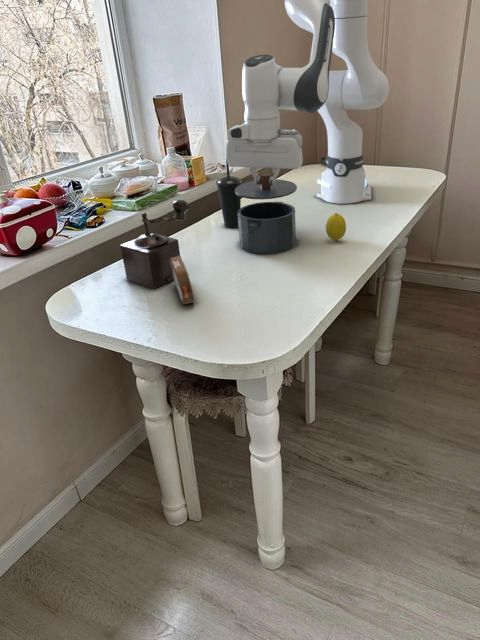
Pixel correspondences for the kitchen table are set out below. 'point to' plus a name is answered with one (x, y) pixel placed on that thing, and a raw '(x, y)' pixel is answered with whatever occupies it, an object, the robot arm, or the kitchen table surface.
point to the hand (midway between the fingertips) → (265, 184)
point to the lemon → (335, 226)
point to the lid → (265, 188)
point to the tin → (182, 280)
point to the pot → (267, 227)
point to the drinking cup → (229, 199)
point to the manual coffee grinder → (152, 252)
